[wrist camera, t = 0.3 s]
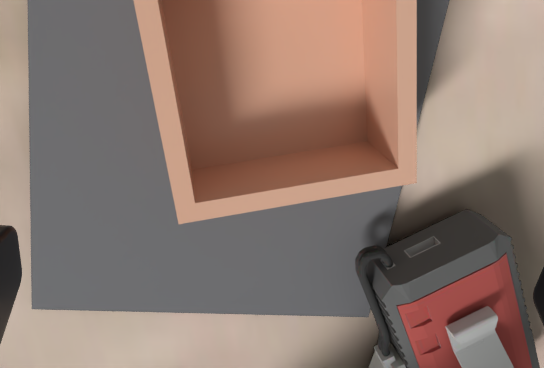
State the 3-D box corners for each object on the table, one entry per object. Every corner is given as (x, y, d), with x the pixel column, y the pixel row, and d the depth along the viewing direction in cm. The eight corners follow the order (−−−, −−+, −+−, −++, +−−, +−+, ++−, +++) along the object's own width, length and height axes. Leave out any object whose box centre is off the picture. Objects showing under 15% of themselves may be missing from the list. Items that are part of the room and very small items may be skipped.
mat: (365, 312, 27) (368, 317, 27) (34, 303, 24) (31, 309, 23) (491, -188, 19) (498, -191, 19) (26, -308, 16) (23, -315, 15)
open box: (378, 149, 23) (416, 182, 19) (178, 182, 22) (178, 224, 18) (371, -72, 20) (416, -82, 16) (133, -45, 19) (123, -50, 15)
